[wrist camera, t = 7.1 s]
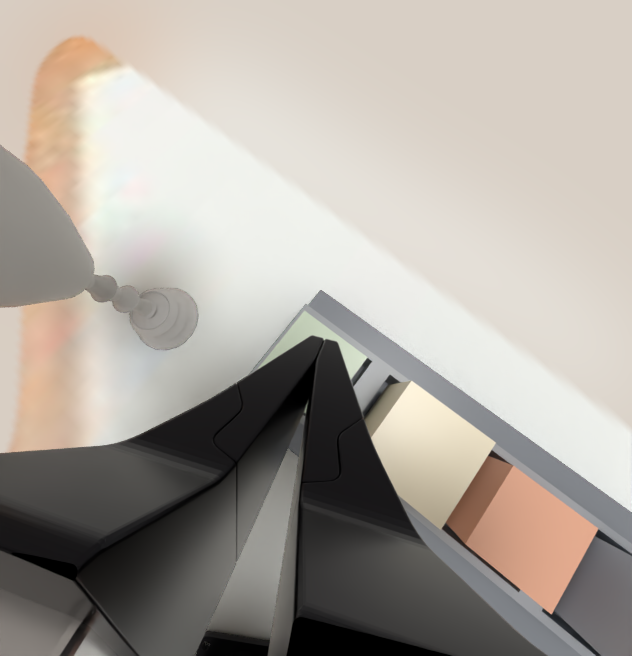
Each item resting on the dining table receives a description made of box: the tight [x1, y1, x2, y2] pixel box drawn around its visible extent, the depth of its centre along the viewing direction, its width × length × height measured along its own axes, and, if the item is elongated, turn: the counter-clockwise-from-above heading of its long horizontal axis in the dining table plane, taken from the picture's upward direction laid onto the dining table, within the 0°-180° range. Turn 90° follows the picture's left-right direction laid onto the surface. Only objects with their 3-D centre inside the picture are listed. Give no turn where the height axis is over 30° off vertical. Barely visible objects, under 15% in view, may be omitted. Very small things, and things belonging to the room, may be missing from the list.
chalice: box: [0, 145, 198, 350], centre depth 15 cm, size 7×7×18 cm
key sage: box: [258, 310, 367, 413], centre depth 18 cm, size 4×4×6 cm
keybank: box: [250, 290, 632, 656], centre depth 18 cm, size 25×10×5 cm, turn 52°
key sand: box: [364, 381, 496, 530], centre depth 15 cm, size 4×4×6 cm
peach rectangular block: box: [446, 456, 598, 615], centre depth 15 cm, size 4×4×6 cm
